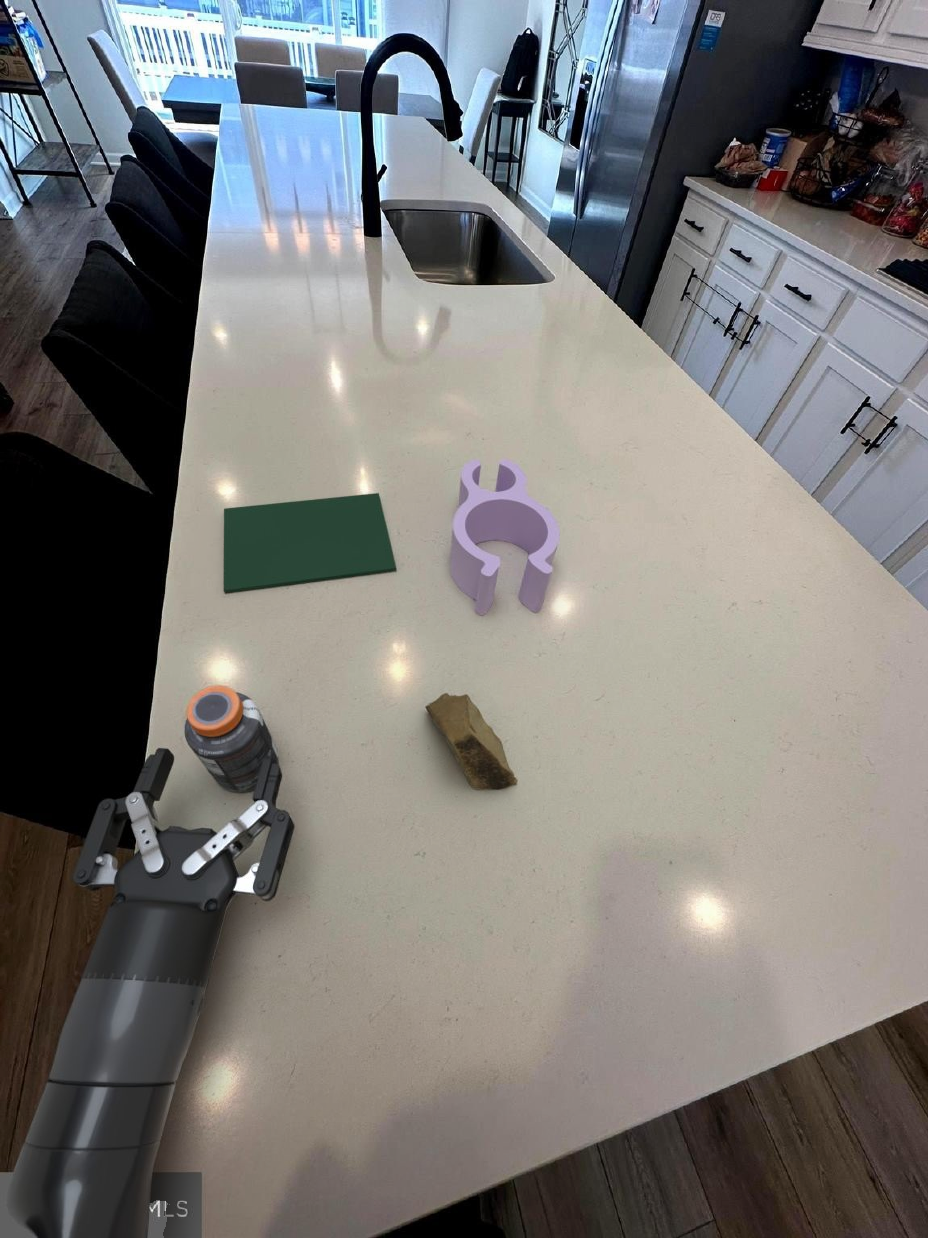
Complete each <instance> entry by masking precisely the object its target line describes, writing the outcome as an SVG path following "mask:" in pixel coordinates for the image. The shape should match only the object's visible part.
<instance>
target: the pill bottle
mask: <svg viewBox="0 0 928 1238" xmlns="http://www.w3.org/2000/svg"><path fill="white" fill-rule="evenodd" d="M184 737H185V741H186V743H187V745H188V746H189V748H190V750H192V752H193V753H194V754H195V756H196V757H197V758H198V759H199V761H200V762H201V763H202V765H203V766H204V767H205V769H206V770H207V772H208V773H209V774H210V775H211V777H212V779H214V781H215V782H216V784H217V785H218V786H220V787H221V788H222V789H223V790H226V791H228V792H230V793H231V792H232V793H239V794H242V793H247V792H252V791H254V790H255V786H256V783H257V779H258V775H259V772H260V768H261V764H262V760H263V757H264V756H274V758H275V760H276V762H277V763H278V764H279V752H278V747H277V745H276V744H275V741H274V739H273V736H272V735H271V732H270V730H269V727H268V726H267V724H266V721H265V719H264V718H263V715H262V713H261V711H260V709H259V708H258V705H257V704H256V703H255V701H254V700H253V699H252V698H251V697H250V696H248V695H245V694H244V693H241V692H236V691H235V690H234V689H232V688H231V687H229V686H226V685H220V684H219V685H218V684H217V685H211V686H207V687H205V688H203V689H201V690H199V691H198V692H196V693H195V694H193V696H192V697H191V699H190V700H189V702H188V704H187V706H186V720H185V723H184Z"/></svg>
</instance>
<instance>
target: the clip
mask: <svg viewBox="0 0 928 1238" xmlns="http://www.w3.org/2000/svg"><path fill="white" fill-rule="evenodd" d="M498 464H499V465H498V471H497V476H496V482H495V489H494V490H493V491H491V490H488V489H486V488H485V489H484V488H482V487H481V486H480V477H481V470H482V462H481V460H479V459H476V458H474V459H472V460H470V461H468V462H467V463H466V464H465V465H464V466H463V467H462V469H461V471H460V472H461V473H460V483H459V492H458V505H457V510H456V511H455V514H454V517H453V520H452V532H451V544H450V554H449V573H450V576H451V578H452V580H453V582H454V584H455V585H456V587H457V588H458V589H460V591H461V592H463V594H465V595H466V596H467V597H469V598H471V599H473V600H475V607H474V612H475V613H476V614H477V615H479V616H484V615H486V614H487V613H488V611H490V608H491V607H492V605H493V601H494V596H495V591H496V585H497V580H498V575H499V569H500V566H501V565H500V564H501V558H500V556H498V555H495V554H493V553H490V552H488V551H485V550H484V549H482V548H480V547H479V546H478V545H477V544H479V543H483V542H487V541H503V542H506V543H511V544H513V545H514V546H515V545H516V546H518V547H520V548H521V549H523V550H524V552H526V553H528V554H529V555H528V556H527V559H526V560H527V561H526V564H525V569H524V572H523V576H522V580H521V583H520V589H519V593H518V599H519V601H520V602H521V604H522V605H523V606H525V607H526V608H527V609H528V610H529V611H531V612H533V613H538V612H540V611H541V610H542V607H543V603H544V599H545V597H546V593H547V590H548V588H549V587H548V586H549V584H550V580H551V577H552V574H553V571H554V568H553V566H552V564H553V562H554V559H555V555H556V552H557V549H558V546H559V542H560V536H561V531H560V526H559V524H558V521H557V519H556V517H555V516H554V515H553V514H552V512H551V511H550V510H549V509H548V508H547V507H545V506H544V505H543V504H542V503H540V502H539V501H537V500H535V499H534V498H533V497H531V496H530V495H529V494H528V492H527V484H528V479H527V478H528V477H527V476H526V475H527V474H526V473H525V471H524V470H523V468H522V467H520V465H518V464H517V463H515V462H514V461H511V460H509V459H507V458H501V459H500V460H499V463H498Z"/></svg>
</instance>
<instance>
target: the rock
mask: <svg viewBox="0 0 928 1238" xmlns="http://www.w3.org/2000/svg"><path fill="white" fill-rule="evenodd" d="M424 708H425V709H426V712H427V714H428V715H429V716H430V718H431V719H432V721H433V723H434V724H435V725H436V726H437V728H438V729H439V731H440V733H441V735H442V736H443V738H444V739H445V741H446V742H447V744H448V745H449V747H450V748H451V751H452V754H453V756H454V757H455V758H456V760H457V762H458V765H459V767H461V769H462V771H463V772H464V773H465V776H466V778H467V781H468V783H469V785H471V787H472V788H473V789H475V790H483V791H484V790H487V791H489V790H491V791H492V790H493V791H494V790H495V791H496V790H497V791H498V790H504V789H507V788H509V787H512V786H516V785H517V784H518V779H517V777H516V776H515V774H514V771H513V770H512V769H511V768H510V765H509V763H508V760H507V756H506V752H505V749H504V746H503V743H502V740H501V738H500V737H498V736H497V735H496V733H495V731H494V729H493V727H492V726H491V725H489V724H488V722H486V721H485V718H484V717H483V715H482V713H481V711H480V709H479V708H478V706H477V705H476V704H475V703H474V702H473V701H472V699H471V697H470V696H469V695H468V694H466V693H465V694H463V695H456V694H455V695H452V694H451V695H450V694H449V693H448V692H444V693H442V694H441V695H440V696H439V697H438V698H436V699H435V700H433V701H432V702H430V703H429V704H427V705H425V707H424Z"/></svg>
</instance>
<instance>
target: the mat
mask: <svg viewBox="0 0 928 1238" xmlns="http://www.w3.org/2000/svg"><path fill="white" fill-rule="evenodd" d="M392 572H397V565H396V561H395V557H394V552H393V548H392V544H391V539H390V535H389V531H388V527H387V522H386V518H385V514H384V510H383V505H382V501H381V497H380V493H379V492H376V493H375V492H374V493H365V494H356V495H355V494H354V495H346V496H335V497H326V498H315V499H306V500H304V499H303V500H296V501H285V502H276V503H266V504H256V505H255V504H254V505H247V506H246V505H245V506H236V507H226V508H225V507H224V508H223V593H224V594H231V593H239V592H246V591H255V590H262V589H270V588H279V587H285V586H292V585H293V586H294V585H300V584H301V585H302V584H308V583H309V584H310V583H316V582H322V581H331V580H339V579H345V578H346V579H347V578H354V577H362V576H370V575H376V574H377V575H378V574H386V573H392Z"/></svg>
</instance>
